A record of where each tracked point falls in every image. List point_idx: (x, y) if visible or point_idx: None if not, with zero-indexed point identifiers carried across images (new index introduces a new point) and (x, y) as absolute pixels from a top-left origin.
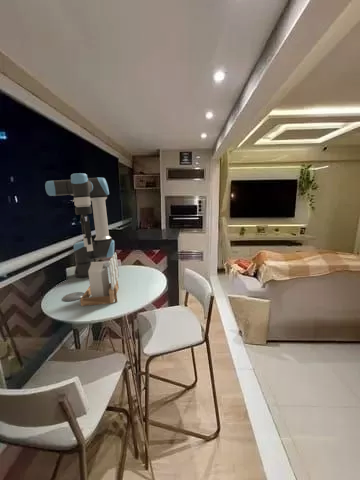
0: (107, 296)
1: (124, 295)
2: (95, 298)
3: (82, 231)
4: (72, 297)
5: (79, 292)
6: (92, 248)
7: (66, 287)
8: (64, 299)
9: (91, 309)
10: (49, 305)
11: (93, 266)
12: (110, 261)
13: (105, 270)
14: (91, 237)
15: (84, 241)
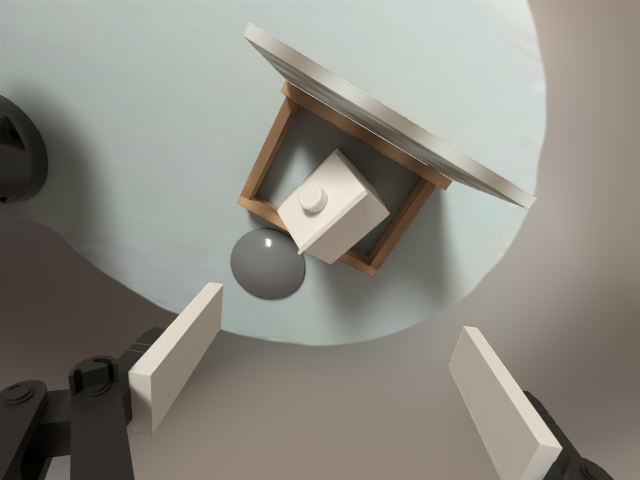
0: (426, 191)
1: (397, 104)
2: (402, 232)
3: (51, 455)
4: (279, 272)
5: (243, 241)
6: (485, 345)
7: (142, 260)
8: (278, 296)
9: (424, 249)
10: (288, 335)
11: (327, 240)
12: (520, 188)
13: (353, 172)
14: (560, 447)
15: (198, 356)
